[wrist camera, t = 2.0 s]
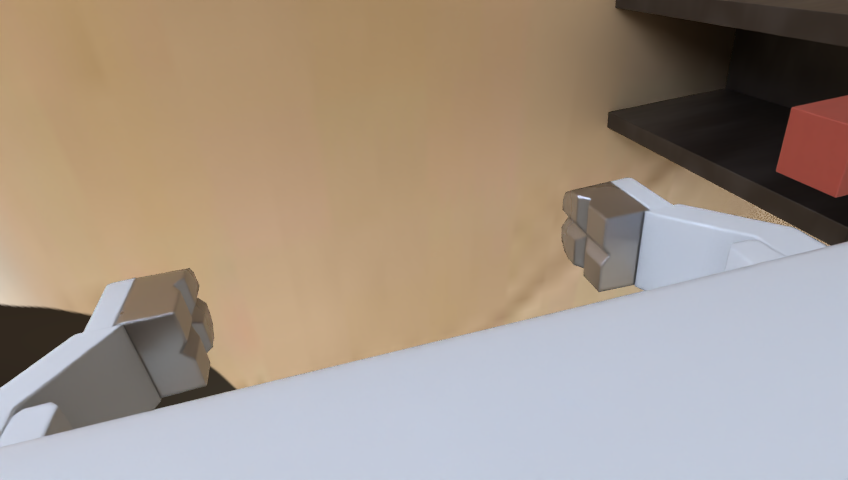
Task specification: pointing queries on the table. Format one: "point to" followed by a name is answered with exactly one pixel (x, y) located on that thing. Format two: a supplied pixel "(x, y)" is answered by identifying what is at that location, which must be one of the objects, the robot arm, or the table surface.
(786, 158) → the red block
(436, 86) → the table surface
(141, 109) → the table surface
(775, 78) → the stand
